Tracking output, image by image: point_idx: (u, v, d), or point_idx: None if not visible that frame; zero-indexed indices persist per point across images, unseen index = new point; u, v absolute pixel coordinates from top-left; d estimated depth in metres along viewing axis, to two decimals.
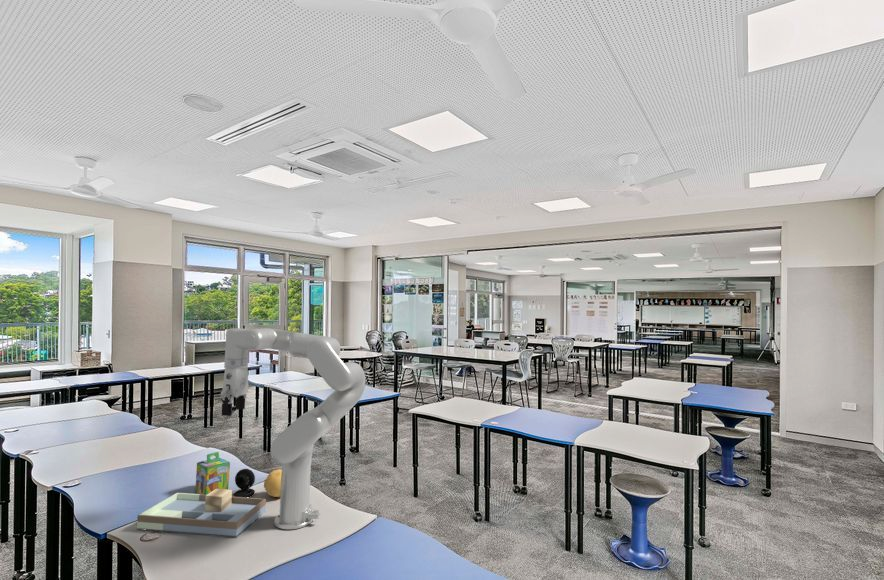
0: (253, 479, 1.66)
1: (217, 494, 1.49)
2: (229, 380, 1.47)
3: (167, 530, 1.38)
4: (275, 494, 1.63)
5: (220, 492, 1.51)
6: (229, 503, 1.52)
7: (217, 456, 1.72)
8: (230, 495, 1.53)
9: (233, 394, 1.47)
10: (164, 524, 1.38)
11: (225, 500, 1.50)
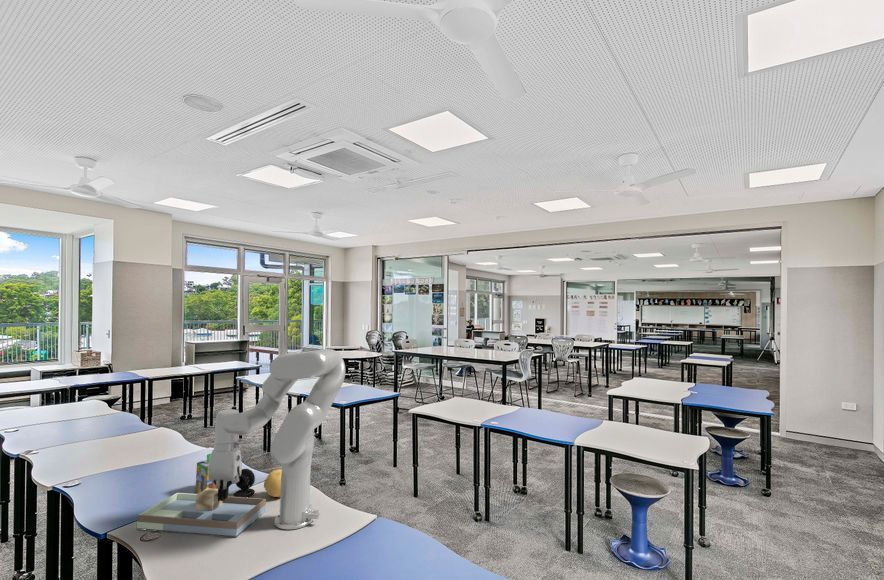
0: (253, 479, 1.66)
1: (207, 494, 1.49)
2: (238, 461, 1.51)
3: (167, 530, 1.38)
4: (275, 494, 1.63)
5: (211, 492, 1.51)
6: (220, 502, 1.52)
7: None
8: None
9: (240, 473, 1.52)
10: (164, 524, 1.38)
11: (216, 499, 1.50)
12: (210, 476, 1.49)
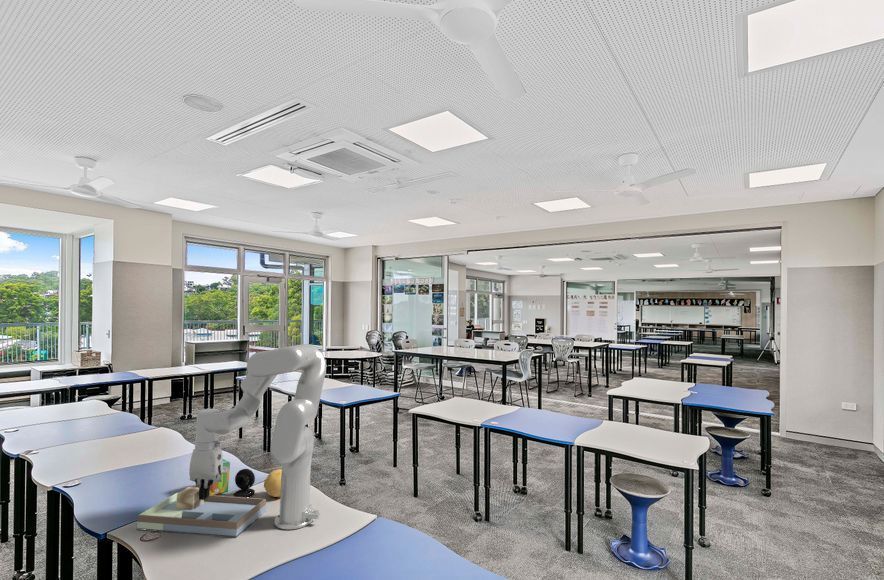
0: (253, 479, 1.66)
1: (188, 492, 1.50)
2: (220, 460, 1.52)
3: (167, 530, 1.38)
4: (275, 494, 1.63)
5: (192, 490, 1.52)
6: (201, 501, 1.53)
7: None
8: None
9: (222, 472, 1.53)
10: (164, 524, 1.38)
11: (197, 498, 1.51)
12: (191, 475, 1.50)
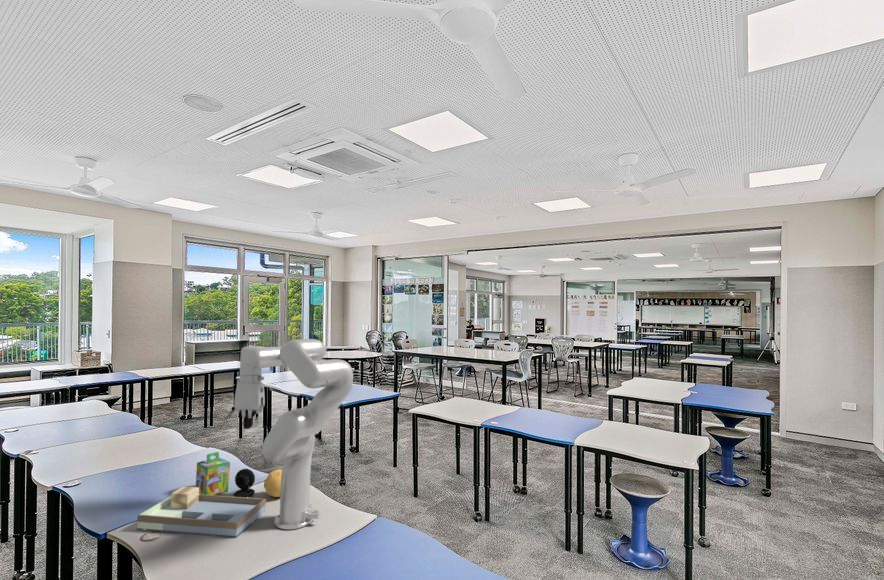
0: (253, 479, 1.66)
1: (183, 492, 1.50)
2: (262, 393, 1.64)
3: (167, 530, 1.38)
4: (275, 494, 1.63)
5: (186, 490, 1.52)
6: (196, 501, 1.53)
7: (217, 456, 1.72)
8: (197, 492, 1.54)
9: None
10: (164, 524, 1.38)
11: (192, 497, 1.51)
12: (236, 406, 1.62)
